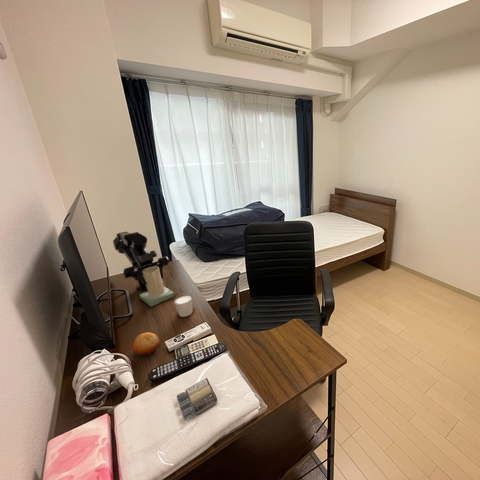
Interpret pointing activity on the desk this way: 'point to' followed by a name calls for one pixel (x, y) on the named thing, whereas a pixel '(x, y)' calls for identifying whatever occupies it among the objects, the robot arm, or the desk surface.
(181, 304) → the white cylinder
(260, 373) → the desk surface
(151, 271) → the cup
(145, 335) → the fruit
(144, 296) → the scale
